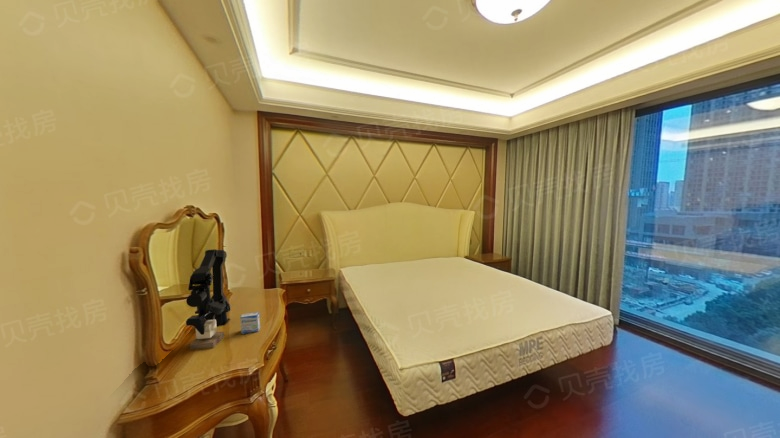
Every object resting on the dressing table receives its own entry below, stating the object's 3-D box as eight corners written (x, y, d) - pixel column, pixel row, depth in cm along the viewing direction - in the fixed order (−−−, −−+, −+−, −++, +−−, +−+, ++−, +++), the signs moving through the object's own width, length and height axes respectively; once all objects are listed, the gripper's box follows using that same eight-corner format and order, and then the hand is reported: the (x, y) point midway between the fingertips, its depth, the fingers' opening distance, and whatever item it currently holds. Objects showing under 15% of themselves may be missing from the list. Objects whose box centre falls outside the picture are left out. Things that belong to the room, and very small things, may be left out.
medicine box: (241, 334, 137) (239, 317, 136) (243, 330, 141) (242, 313, 140) (258, 331, 139) (257, 315, 138) (260, 327, 143) (259, 311, 143)
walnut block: (202, 339, 134) (202, 333, 134) (224, 337, 135) (223, 331, 135) (190, 350, 124) (189, 344, 124) (213, 348, 125) (213, 342, 125)
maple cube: (203, 332, 132) (202, 320, 131) (217, 331, 133) (216, 319, 132) (196, 339, 126) (195, 326, 126) (210, 337, 127) (209, 325, 126)
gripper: (210, 305, 119) (214, 339, 121) (231, 290, 138) (233, 320, 139) (183, 307, 118) (187, 342, 120) (207, 291, 137) (210, 321, 138)
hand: (206, 330), depth 129 cm, fingers open, 6 cm apart
